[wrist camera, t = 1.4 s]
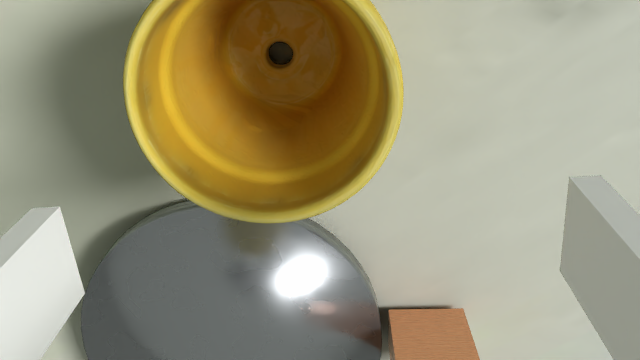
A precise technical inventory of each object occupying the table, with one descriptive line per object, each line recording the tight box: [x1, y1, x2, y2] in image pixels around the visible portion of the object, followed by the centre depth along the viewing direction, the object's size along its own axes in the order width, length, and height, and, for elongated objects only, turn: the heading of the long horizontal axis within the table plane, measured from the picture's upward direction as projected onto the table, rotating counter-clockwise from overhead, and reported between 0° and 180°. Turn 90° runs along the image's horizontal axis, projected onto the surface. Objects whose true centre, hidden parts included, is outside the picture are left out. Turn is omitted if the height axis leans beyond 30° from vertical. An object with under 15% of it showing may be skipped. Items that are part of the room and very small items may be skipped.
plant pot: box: [123, 0, 403, 223], centre depth 26 cm, size 10×10×10 cm
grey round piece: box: [81, 201, 480, 360], centre depth 34 cm, size 18×23×6 cm
